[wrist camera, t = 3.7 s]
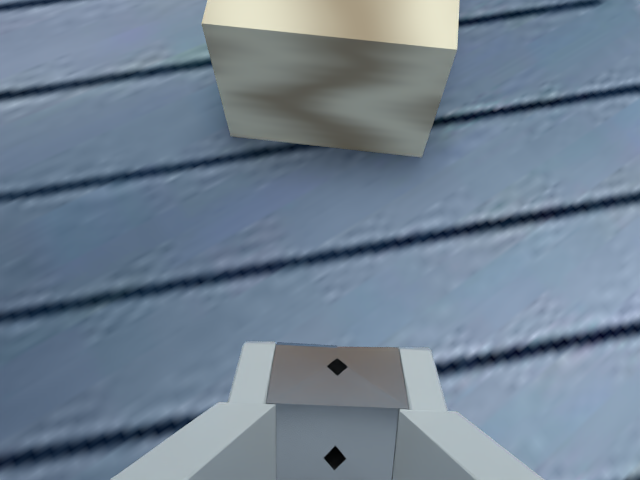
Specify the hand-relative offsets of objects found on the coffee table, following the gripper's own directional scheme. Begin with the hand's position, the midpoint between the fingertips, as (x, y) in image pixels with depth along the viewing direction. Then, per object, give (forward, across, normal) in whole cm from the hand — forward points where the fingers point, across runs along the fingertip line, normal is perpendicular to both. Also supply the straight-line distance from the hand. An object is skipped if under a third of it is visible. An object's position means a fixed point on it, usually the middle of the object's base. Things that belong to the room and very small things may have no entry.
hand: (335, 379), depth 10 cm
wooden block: (+23, 0, -3) cm, 23 cm away
